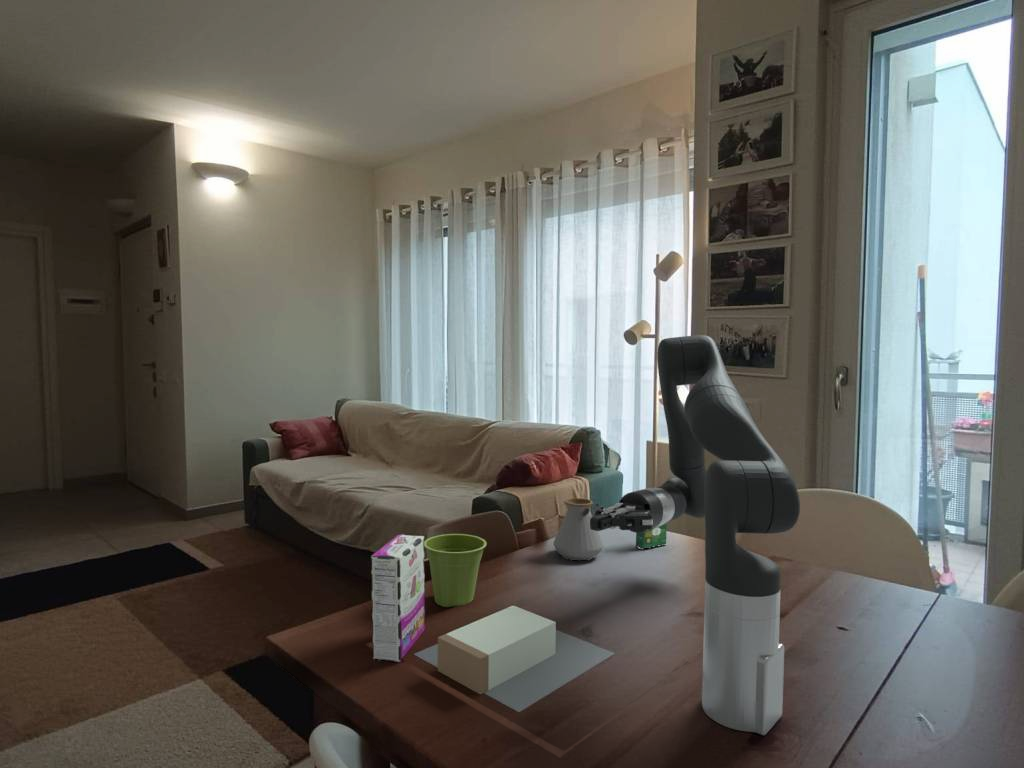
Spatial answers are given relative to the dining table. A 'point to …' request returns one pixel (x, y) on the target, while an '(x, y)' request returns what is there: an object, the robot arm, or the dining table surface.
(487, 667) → the cream block
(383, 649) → the candy bar box
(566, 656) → the rubber mat
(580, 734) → the dining table surface
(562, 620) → the dining table surface
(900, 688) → the dining table surface
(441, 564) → the plant pot
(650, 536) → the coffee box
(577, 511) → the coffee pot
